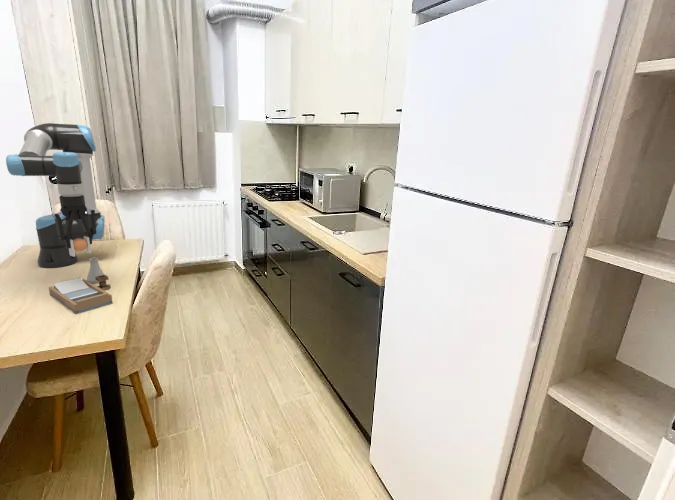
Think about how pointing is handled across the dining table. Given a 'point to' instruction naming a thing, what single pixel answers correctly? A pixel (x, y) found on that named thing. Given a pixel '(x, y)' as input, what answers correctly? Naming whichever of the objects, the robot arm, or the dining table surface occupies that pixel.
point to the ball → (79, 244)
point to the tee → (103, 282)
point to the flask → (94, 271)
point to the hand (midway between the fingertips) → (80, 254)
